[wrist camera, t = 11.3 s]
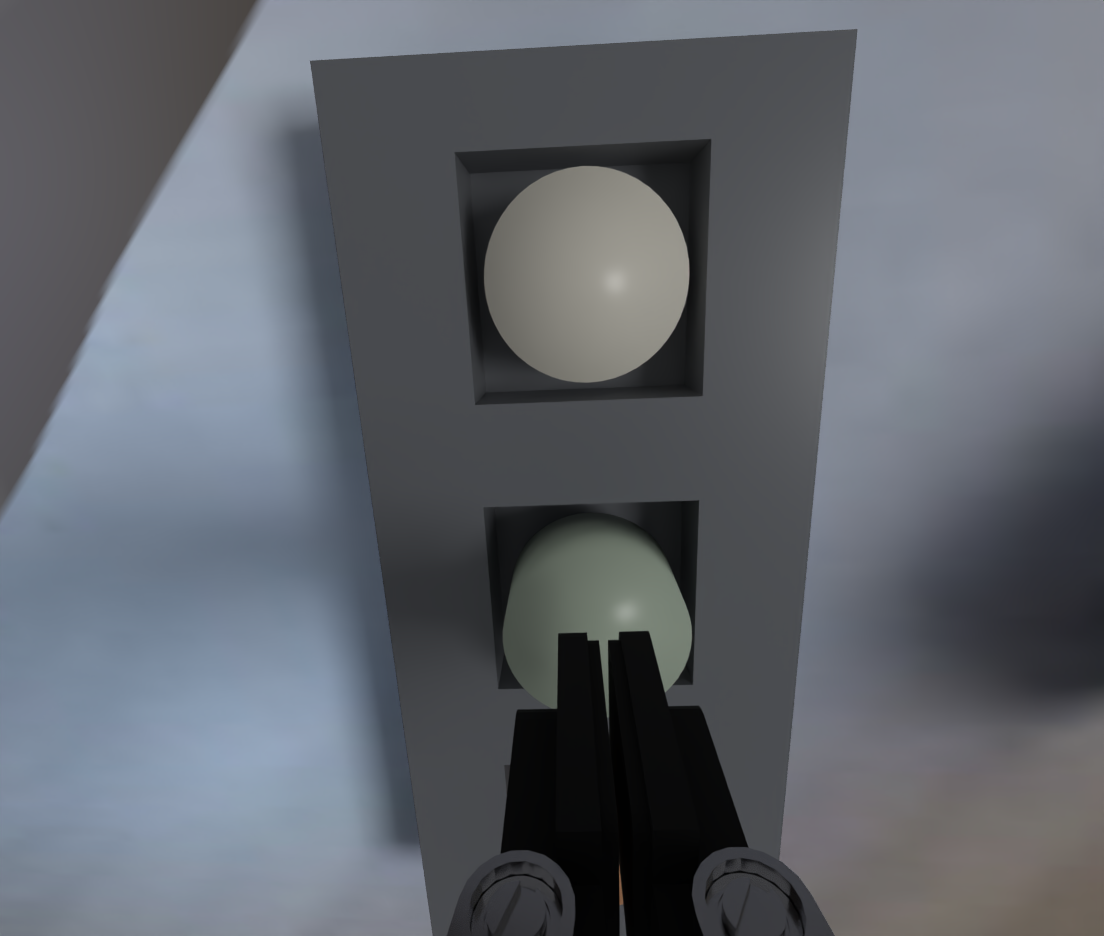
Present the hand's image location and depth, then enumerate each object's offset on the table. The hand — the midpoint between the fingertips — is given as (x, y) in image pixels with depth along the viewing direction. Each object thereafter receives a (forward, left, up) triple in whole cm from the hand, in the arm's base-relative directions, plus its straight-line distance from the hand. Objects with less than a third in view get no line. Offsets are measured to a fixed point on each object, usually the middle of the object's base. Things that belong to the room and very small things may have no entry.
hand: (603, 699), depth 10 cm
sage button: (0, 0, -5) cm, 5 cm away
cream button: (+8, 0, -6) cm, 10 cm away
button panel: (0, 0, -8) cm, 8 cm away
